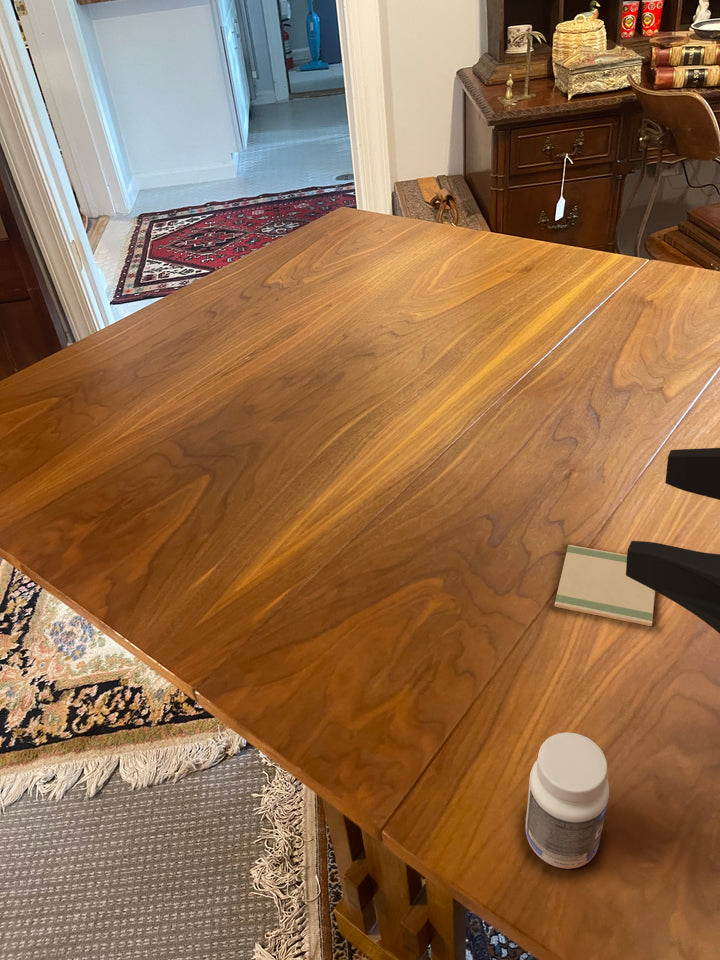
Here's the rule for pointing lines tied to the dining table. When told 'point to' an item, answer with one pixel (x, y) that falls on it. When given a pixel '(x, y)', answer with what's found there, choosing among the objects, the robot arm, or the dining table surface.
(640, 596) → the striped square coaster
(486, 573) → the dining table surface
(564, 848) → the pill bottle
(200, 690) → the dining table surface
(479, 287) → the dining table surface
